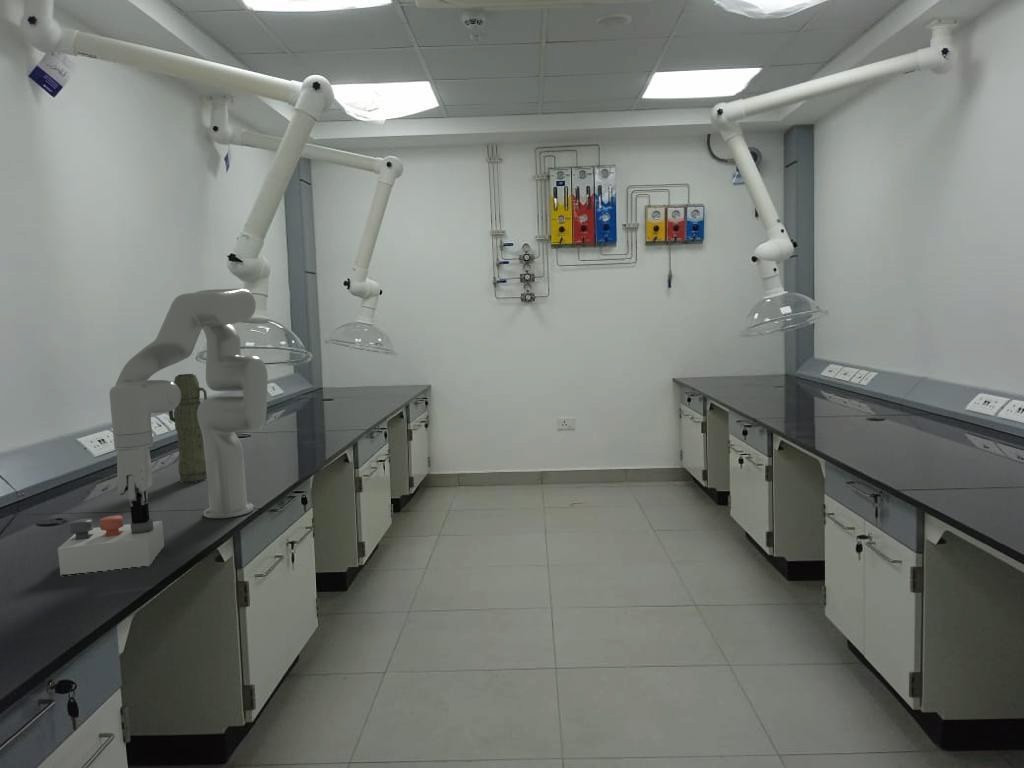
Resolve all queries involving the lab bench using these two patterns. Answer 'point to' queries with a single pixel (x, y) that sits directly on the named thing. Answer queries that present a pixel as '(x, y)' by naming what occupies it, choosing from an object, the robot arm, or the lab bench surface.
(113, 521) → the red knob
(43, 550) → the lab bench surface
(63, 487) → the lab bench surface
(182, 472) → the thermos
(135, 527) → the grey knob
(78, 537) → the grey knob
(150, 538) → the control box
